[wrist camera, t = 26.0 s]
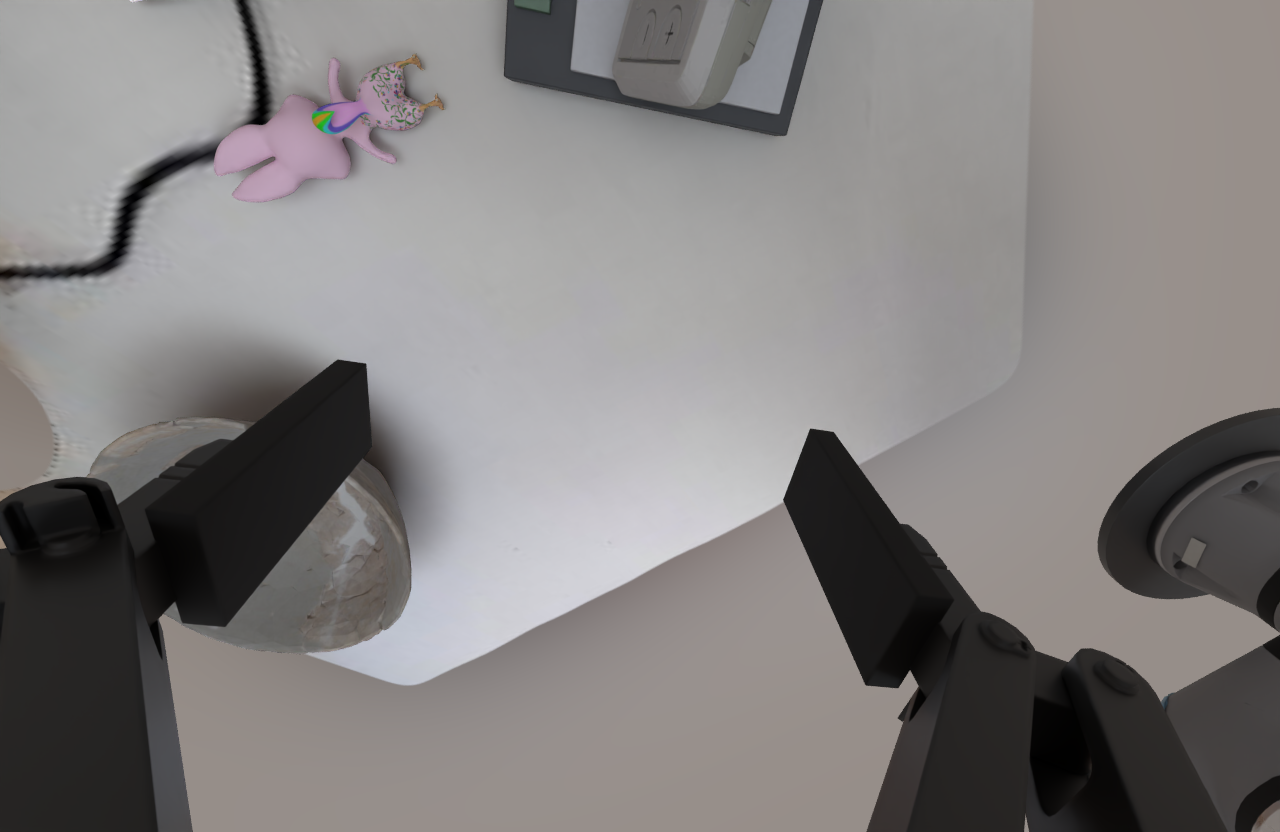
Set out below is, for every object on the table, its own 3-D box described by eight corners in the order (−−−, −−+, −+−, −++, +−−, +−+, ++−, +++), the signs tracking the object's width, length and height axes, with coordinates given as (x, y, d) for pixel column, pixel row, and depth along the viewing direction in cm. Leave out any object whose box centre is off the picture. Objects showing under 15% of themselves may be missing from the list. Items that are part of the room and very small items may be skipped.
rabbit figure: (408, 33, 33) (202, 137, 34) (384, 4, 28) (139, 128, 28) (462, 134, 36) (271, 229, 36) (449, 126, 31) (225, 238, 31)
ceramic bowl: (402, 598, 55) (360, 686, 46) (164, 510, 49) (63, 592, 40) (489, 444, 47) (458, 515, 38) (214, 314, 40) (100, 363, 32)
